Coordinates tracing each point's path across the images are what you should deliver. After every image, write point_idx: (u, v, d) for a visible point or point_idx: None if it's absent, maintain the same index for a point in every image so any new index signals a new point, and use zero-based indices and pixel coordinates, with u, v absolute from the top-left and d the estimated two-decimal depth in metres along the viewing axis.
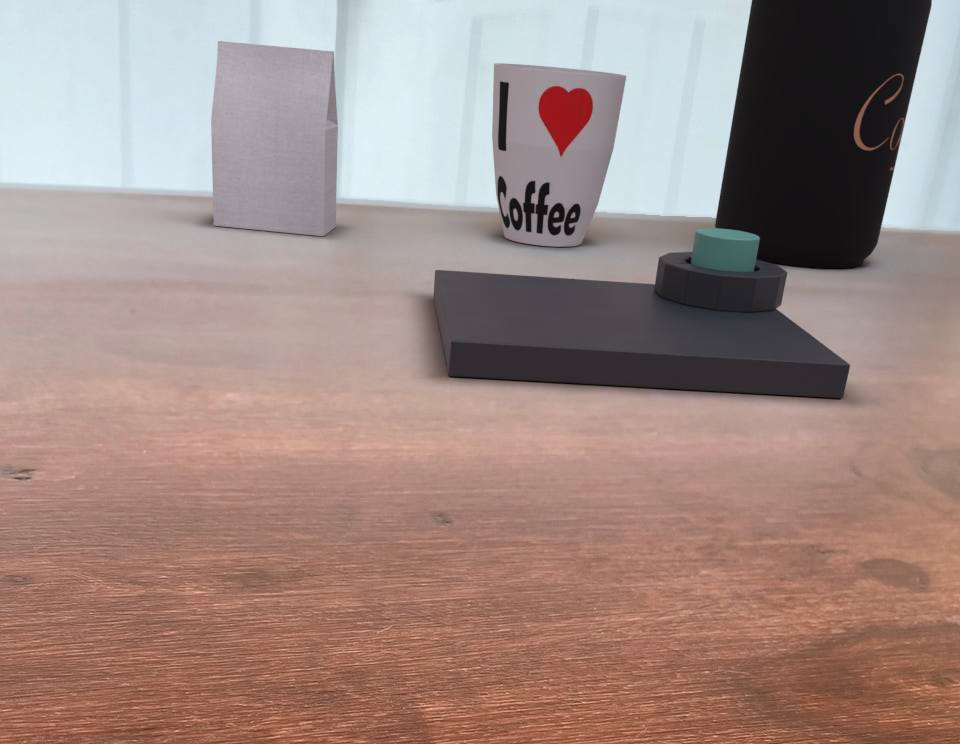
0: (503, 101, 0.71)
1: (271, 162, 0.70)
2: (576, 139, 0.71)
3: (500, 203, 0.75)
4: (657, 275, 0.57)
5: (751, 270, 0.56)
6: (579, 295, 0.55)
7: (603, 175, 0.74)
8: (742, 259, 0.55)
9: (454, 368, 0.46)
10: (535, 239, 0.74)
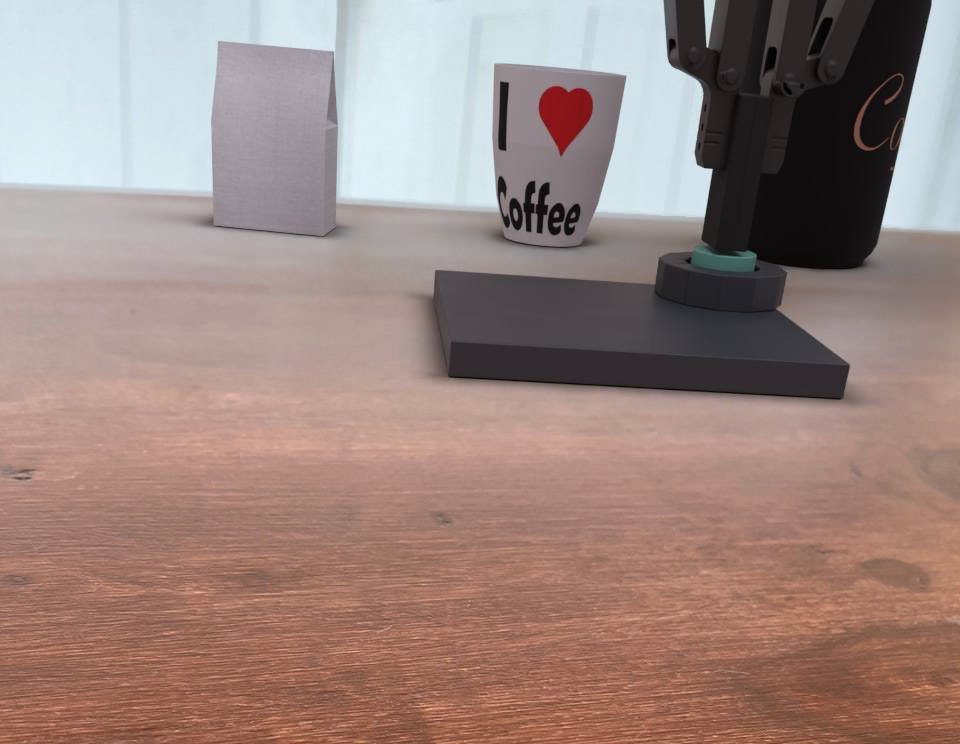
0: (503, 101, 0.71)
1: (271, 162, 0.70)
2: (576, 139, 0.71)
3: (500, 203, 0.75)
4: (657, 275, 0.57)
5: None
6: (579, 295, 0.55)
7: (603, 175, 0.74)
8: None
9: (454, 368, 0.46)
10: (535, 239, 0.74)
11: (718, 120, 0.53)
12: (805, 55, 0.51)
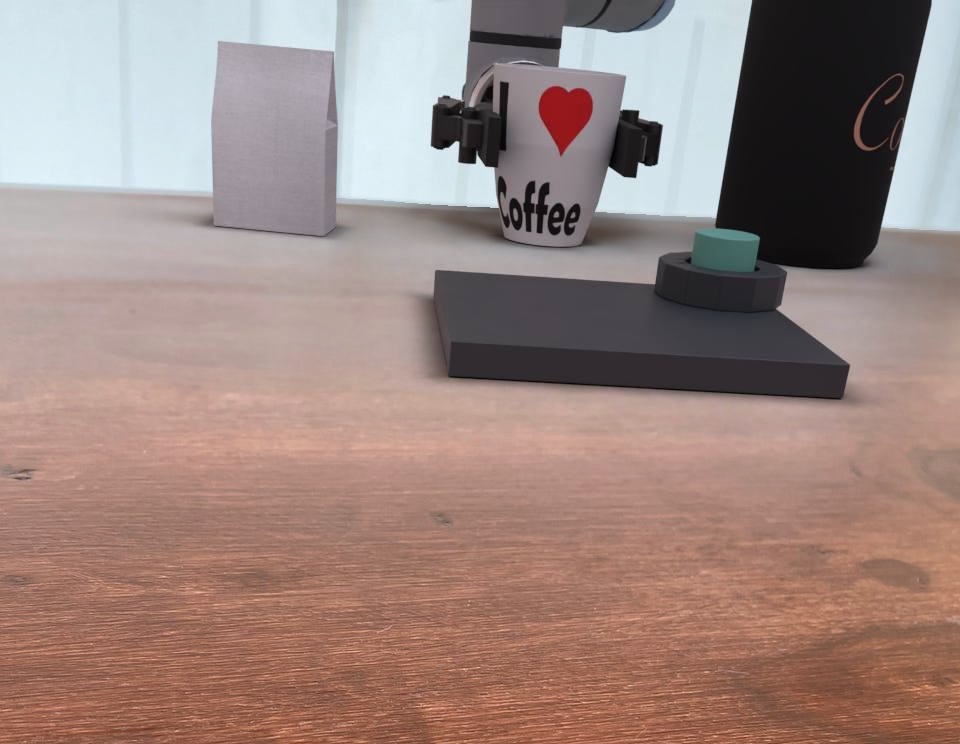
0: (503, 101, 0.71)
1: (271, 162, 0.70)
2: (576, 139, 0.71)
3: (500, 203, 0.75)
4: (657, 275, 0.57)
5: (751, 270, 0.56)
6: (579, 295, 0.55)
7: (603, 175, 0.74)
8: (742, 259, 0.55)
9: (454, 368, 0.46)
10: (535, 239, 0.74)
11: None
12: None
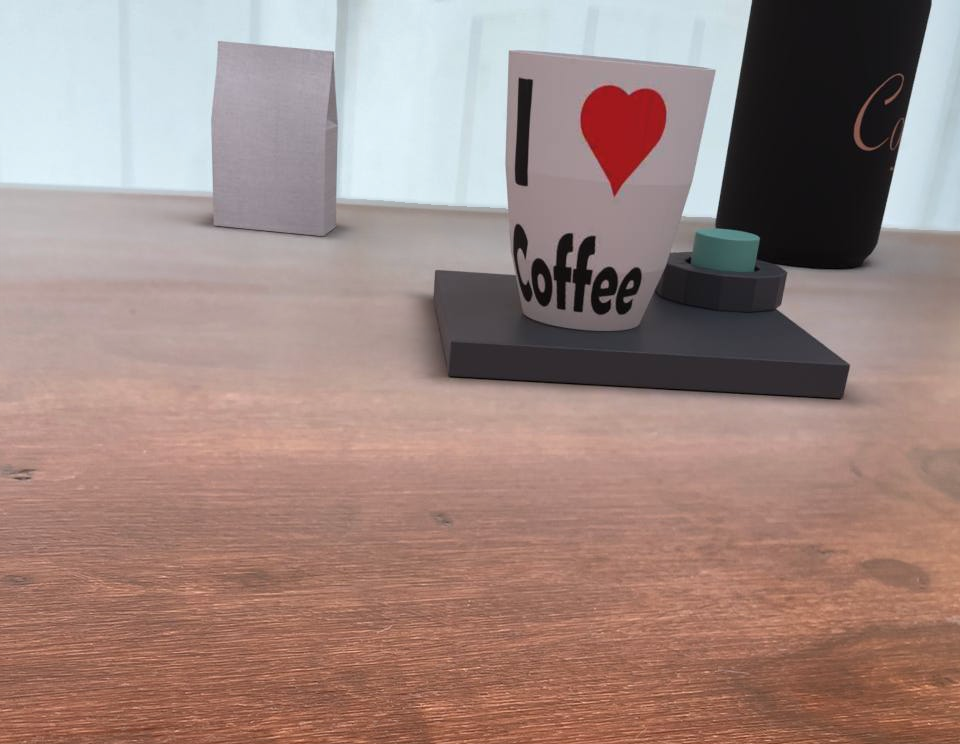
0: (523, 109, 0.45)
1: (271, 162, 0.70)
2: (639, 169, 0.45)
3: (517, 264, 0.49)
4: None
5: (751, 270, 0.56)
6: None
7: (676, 223, 0.48)
8: (742, 259, 0.55)
9: (454, 368, 0.46)
10: (571, 320, 0.48)
11: None
12: None
